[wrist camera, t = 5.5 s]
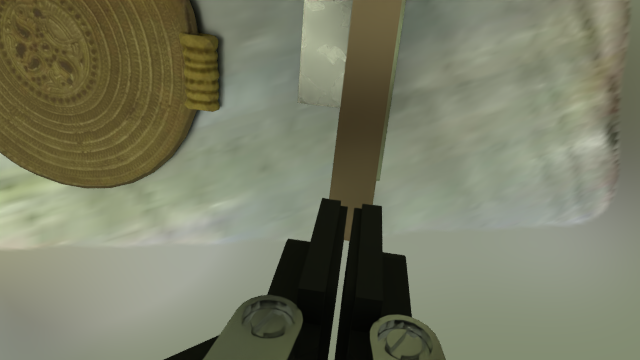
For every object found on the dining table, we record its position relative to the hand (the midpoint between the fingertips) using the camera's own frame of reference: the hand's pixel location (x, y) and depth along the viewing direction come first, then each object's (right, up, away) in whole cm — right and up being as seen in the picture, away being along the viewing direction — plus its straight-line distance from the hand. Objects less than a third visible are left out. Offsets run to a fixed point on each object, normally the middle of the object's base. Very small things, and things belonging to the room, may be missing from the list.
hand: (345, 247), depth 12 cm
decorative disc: (-24, +15, +27) cm, 39 cm away
